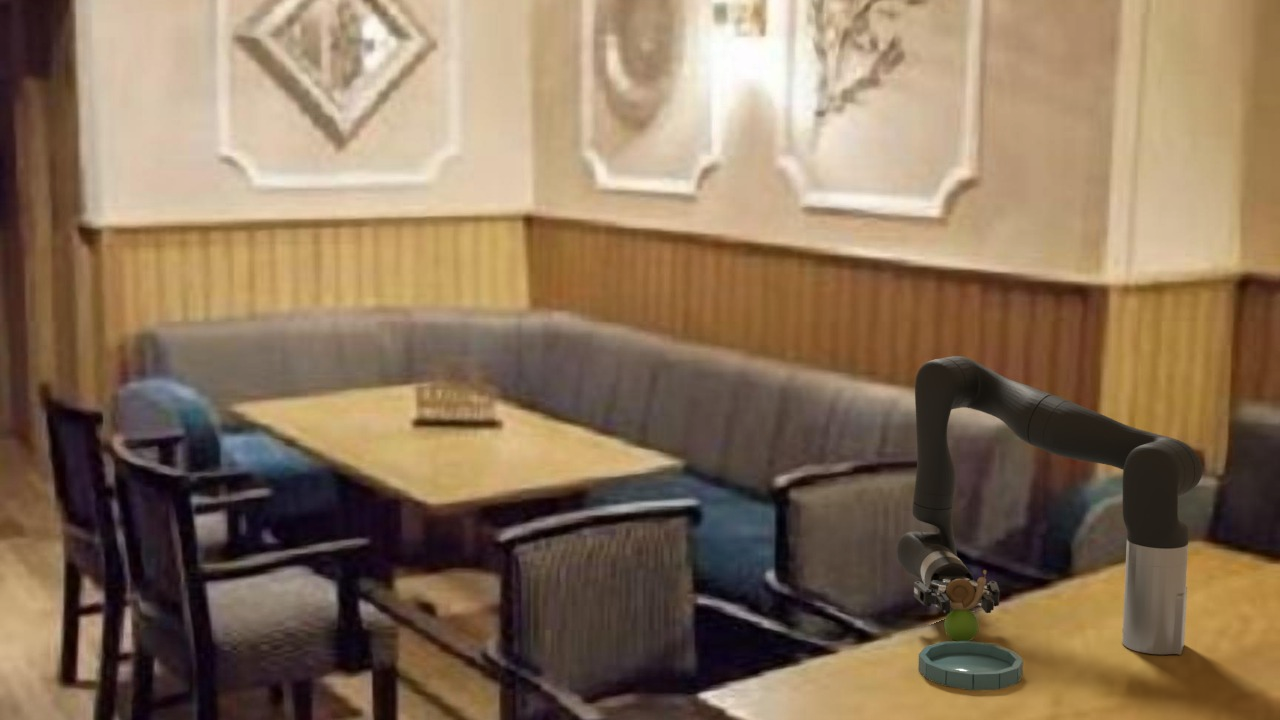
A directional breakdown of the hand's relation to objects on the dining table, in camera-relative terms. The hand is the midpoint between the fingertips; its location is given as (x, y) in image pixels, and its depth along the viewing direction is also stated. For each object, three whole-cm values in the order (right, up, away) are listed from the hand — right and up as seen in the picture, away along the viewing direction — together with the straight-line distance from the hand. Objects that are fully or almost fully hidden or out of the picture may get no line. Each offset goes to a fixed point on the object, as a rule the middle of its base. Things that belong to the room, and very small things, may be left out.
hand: (968, 607), depth 242 cm
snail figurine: (0, -6, +3) cm, 7 cm away
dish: (-2, -8, -11) cm, 14 cm away
